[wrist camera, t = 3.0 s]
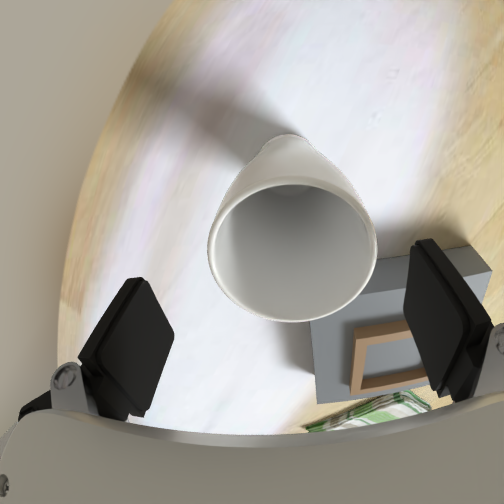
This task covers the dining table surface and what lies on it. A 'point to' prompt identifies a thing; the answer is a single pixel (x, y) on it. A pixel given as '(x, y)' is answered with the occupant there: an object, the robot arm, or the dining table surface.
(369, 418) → the dish towel
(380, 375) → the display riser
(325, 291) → the white tapered cylinder
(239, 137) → the dining table surface
